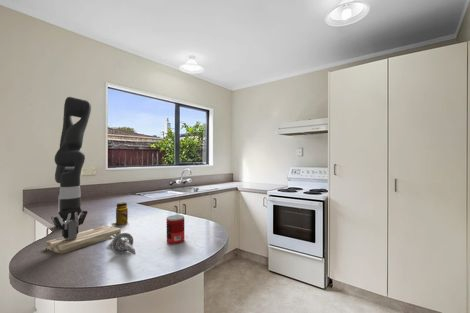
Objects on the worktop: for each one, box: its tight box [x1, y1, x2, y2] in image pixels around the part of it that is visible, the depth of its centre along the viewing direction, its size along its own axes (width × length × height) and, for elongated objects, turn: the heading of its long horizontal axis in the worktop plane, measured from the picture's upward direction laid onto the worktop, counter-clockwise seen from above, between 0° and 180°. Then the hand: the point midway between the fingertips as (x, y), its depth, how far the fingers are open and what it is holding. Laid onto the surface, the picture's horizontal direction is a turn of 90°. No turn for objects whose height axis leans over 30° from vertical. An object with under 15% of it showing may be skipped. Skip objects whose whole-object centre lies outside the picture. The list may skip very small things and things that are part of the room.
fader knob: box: [64, 221, 77, 240], centre depth 100 cm, size 4×3×8 cm
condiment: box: [110, 202, 130, 228], centre depth 133 cm, size 7×8×12 cm
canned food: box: [166, 214, 185, 245], centre depth 104 cm, size 8×8×11 cm
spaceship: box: [110, 232, 136, 256], centre depth 92 cm, size 8×35×8 cm
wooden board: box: [45, 225, 122, 255], centre depth 106 cm, size 12×26×3 cm, turn 152°
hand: (70, 236), depth 100 cm, fingers closed on fader knob, 3 cm apart
